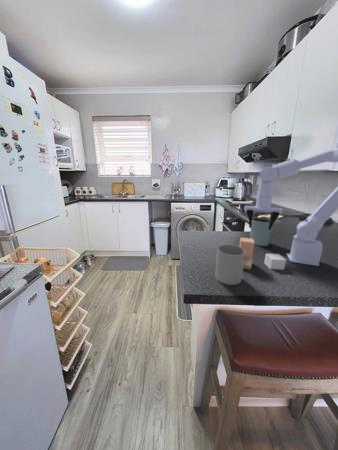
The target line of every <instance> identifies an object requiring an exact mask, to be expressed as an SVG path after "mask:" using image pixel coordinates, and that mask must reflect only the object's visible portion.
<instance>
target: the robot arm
mask: <svg viewBox="0 0 338 450" xmlns="http://www.w3.org/2000/svg"><path fill="white" fill-rule="evenodd" d="M323 163H338V147H336V148H332V149H329V150H327V151H324V152H320V153H318V154H317V153H316V154H315V155H311V156H308V157H306V158H303V159H300V160H298V159H295V158H286V159H285V161H282V162H280V163H277V164H276V163H273V164H272V165H271V166H266V167H264V168H262V169H261V171H260V173H259V185H258V189H257V196H256V203H255V205H244V207H243V209H244V210H243V211H245V212H246V214H247V218H248V223H249V224H248V227H249V228H250V229H251V226H252V218H254V212H259V213H269V214H270V217H269V219H270V222H269V226H268V229H269V230H271V227H272V225H273V226H274V224H275V222H276V221H277V219H278V218H279V217H280V215H281V214H283V208H279V207H272V202H273V196H274V189H275V181H276V179H278V180H279V179H284V178H287V177H291V176H294V175H297V174H298V173H299V171H300V170H301V169H305V168H309V167H312V166H316V165H321V164H323ZM318 206H319V207H317V208H316V209H315V211H313V213H311V214H310V215H309V216H307V218H306V219H305V220H301V221H300V222H298V223H297V225H296V234H295V235H293V239H292V244H291V248H290V252H289V253H286V256H287V258H288V259H289V261H290V262H291V263H295V264H296V263H297V264H303V265H310V266H316V267H320V261H321V257H322V253H323V247H324V245H323V243H322V241H320V240H317V237H318V235H319V231H320V230H321V229H322V228H323V227H324V224H326V221H328V220H329V218H331V216H333V214H335V213H336V211H337V210H338V186H337V187H336V188H335V189H334V190H333V191H332V192H330V194H329V195H328V196H327V198H325V200H324V201H323V202H322V203H321V204H320V205H318ZM272 228H273V227H272Z"/></svg>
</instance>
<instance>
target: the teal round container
mask: <svg viewBox="0 0 338 450" xmlns="http://www.w3.org/2000/svg"><path fill="white" fill-rule="evenodd" d="M269 222H270V218H265V217H252V226H251V228H250V232H249V233H250V235H249V238H250V239H254V246H257V247H268V246H269V243H270V240H271V239H270V238H271V234H272V231H273V226H274V224H273V225H272V227H271V230H269V229H268V226H269Z"/></svg>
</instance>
